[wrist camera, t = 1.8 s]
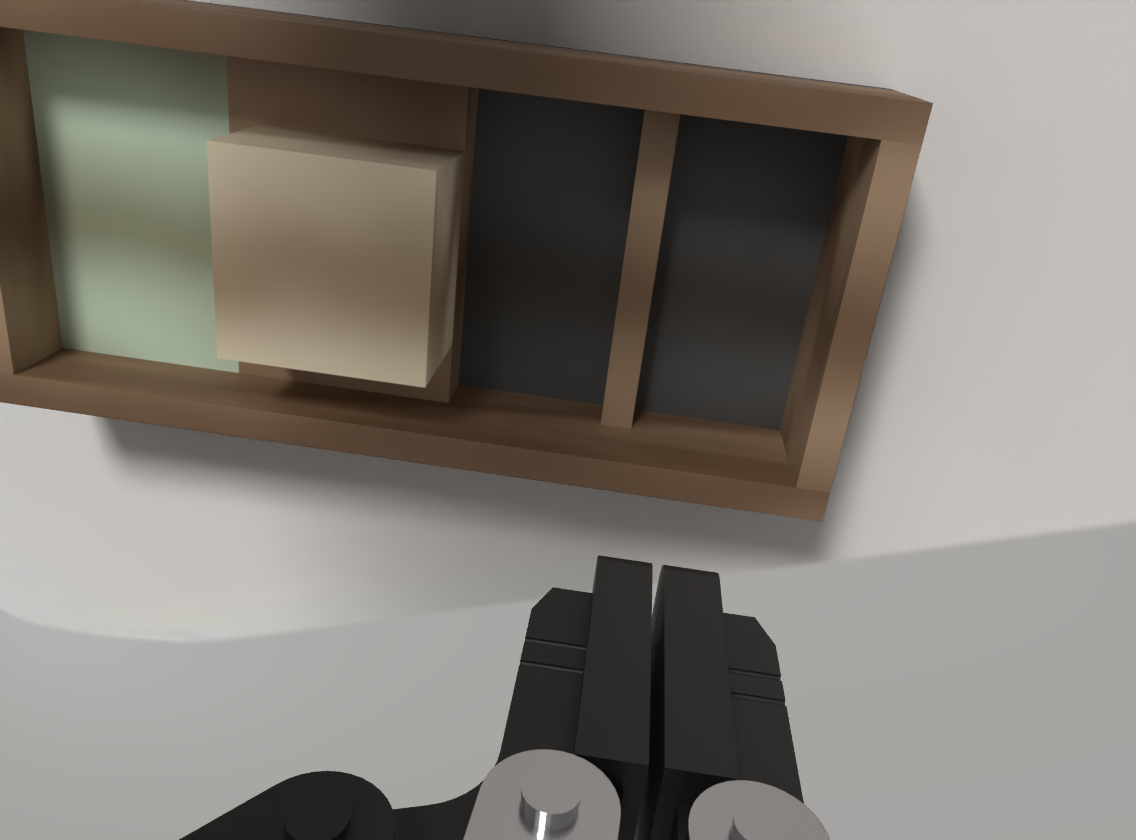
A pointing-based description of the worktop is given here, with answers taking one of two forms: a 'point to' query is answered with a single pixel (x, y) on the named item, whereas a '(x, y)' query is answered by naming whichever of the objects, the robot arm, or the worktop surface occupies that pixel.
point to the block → (334, 252)
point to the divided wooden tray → (464, 245)
